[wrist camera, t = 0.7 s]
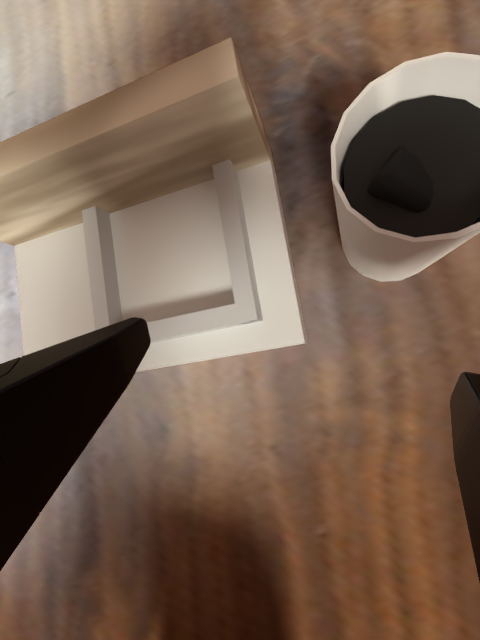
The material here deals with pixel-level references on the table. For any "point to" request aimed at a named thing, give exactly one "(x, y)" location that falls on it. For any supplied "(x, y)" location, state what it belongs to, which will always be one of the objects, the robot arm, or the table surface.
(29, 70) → the table surface
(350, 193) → the white coffee cup
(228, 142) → the ash wall board
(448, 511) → the table surface
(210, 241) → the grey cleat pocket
